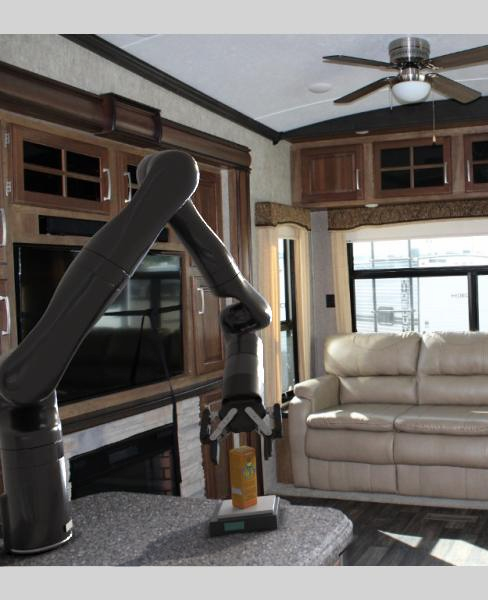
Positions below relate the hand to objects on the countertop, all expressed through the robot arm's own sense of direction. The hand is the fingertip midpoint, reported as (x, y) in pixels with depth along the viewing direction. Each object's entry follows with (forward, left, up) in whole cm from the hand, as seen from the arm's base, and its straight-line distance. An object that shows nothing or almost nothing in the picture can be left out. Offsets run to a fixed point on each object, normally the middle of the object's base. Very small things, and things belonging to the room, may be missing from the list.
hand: (241, 460), depth 115 cm
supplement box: (0, +1, -8) cm, 8 cm away
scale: (0, +1, -11) cm, 11 cm away
